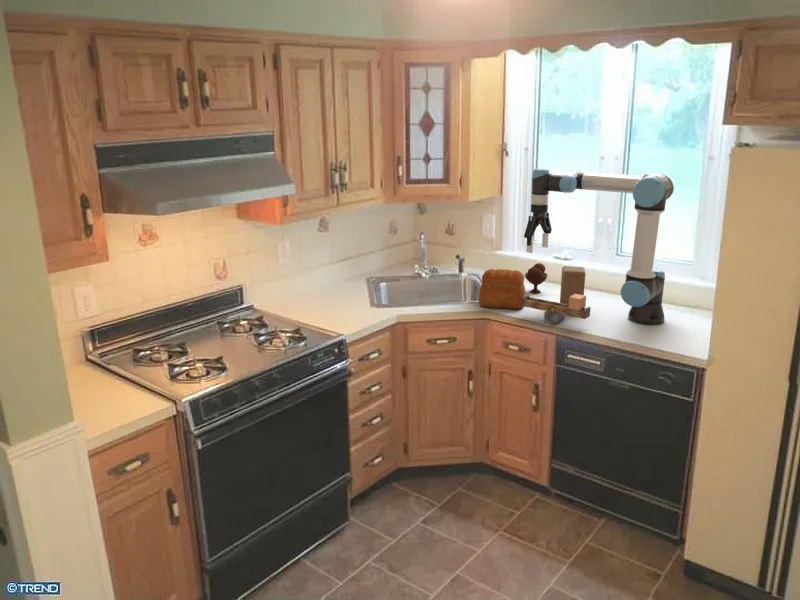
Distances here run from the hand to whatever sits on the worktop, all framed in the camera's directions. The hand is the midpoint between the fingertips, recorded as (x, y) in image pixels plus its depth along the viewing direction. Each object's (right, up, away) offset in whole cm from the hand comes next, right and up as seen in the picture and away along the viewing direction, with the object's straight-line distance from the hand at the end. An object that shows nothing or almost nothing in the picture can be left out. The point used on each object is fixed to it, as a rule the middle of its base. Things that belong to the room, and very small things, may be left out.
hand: (537, 249), depth 312 cm
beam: (+5, -33, -12) cm, 35 cm away
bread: (-14, -25, +13) cm, 32 cm away
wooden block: (+16, -28, +3) cm, 33 cm away
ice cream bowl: (+5, -19, +32) cm, 38 cm away
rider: (+13, -27, -20) cm, 36 cm away
